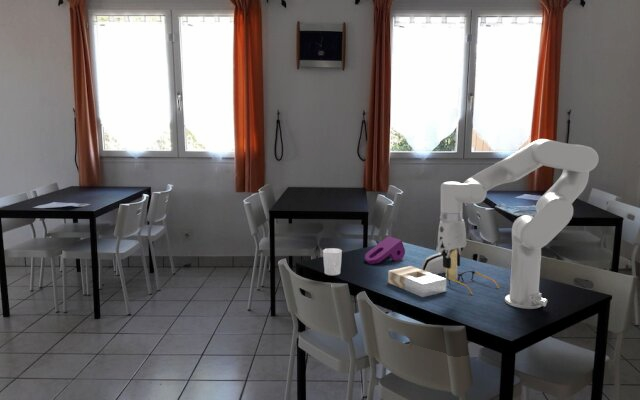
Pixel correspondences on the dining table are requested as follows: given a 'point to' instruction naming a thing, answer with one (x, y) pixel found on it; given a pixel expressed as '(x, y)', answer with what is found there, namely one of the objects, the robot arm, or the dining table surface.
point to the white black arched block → (434, 264)
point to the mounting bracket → (386, 251)
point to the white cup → (332, 261)
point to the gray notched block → (425, 284)
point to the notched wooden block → (403, 275)
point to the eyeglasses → (471, 279)
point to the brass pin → (452, 265)
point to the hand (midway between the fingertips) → (451, 265)
